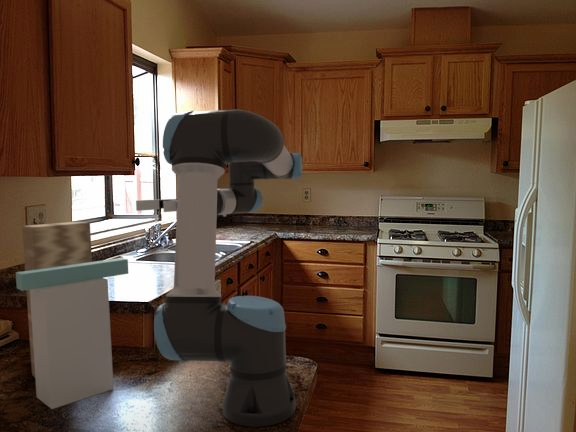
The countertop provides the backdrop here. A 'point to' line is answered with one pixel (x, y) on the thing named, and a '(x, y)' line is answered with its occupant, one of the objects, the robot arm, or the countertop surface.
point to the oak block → (54, 252)
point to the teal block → (70, 273)
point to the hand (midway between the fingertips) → (149, 206)
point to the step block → (71, 341)
